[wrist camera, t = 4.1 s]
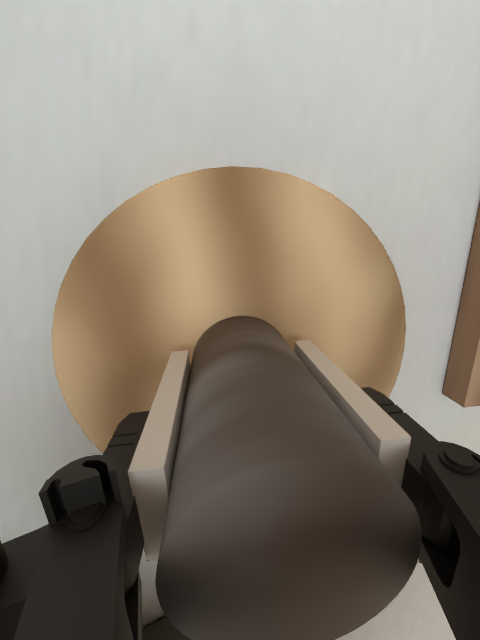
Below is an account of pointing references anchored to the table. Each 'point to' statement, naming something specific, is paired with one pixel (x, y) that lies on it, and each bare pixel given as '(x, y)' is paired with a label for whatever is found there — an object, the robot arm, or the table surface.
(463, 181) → the table surface
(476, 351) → the serving board
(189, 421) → the lid
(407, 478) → the robot arm
